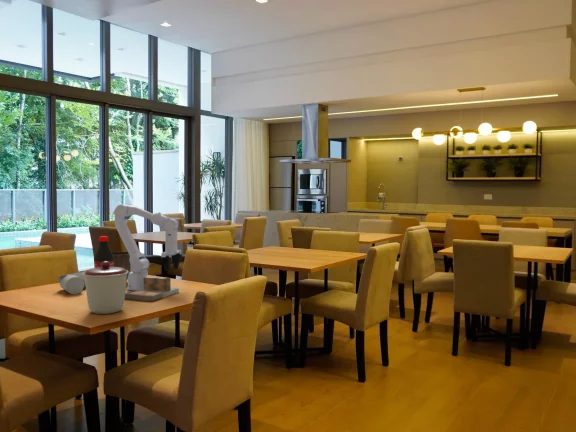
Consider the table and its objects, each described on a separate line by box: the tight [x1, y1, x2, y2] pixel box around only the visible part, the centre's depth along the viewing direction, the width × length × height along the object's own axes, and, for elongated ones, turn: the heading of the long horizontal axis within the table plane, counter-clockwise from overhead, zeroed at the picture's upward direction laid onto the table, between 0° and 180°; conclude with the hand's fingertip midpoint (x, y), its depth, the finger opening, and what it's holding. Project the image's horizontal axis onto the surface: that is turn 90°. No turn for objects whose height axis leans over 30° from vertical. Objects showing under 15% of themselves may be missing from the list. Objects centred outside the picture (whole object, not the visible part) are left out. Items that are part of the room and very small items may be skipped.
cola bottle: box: [93, 235, 114, 268], centre depth 234 cm, size 8×8×30 cm
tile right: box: [141, 292, 159, 296], centre depth 243 cm, size 6×6×2 cm
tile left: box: [129, 291, 147, 295], centre depth 246 cm, size 6×6×2 cm
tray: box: [124, 290, 164, 303], centre depth 244 cm, size 16×8×2 cm, turn 69°
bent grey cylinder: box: [57, 270, 87, 295], centre depth 264 cm, size 18×11×20 cm
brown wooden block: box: [144, 275, 172, 291], centre depth 254 cm, size 13×4×6 cm, turn 69°
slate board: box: [139, 287, 180, 298], centre depth 254 cm, size 15×14×2 cm
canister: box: [82, 261, 129, 315], centre depth 218 cm, size 18×18×21 cm
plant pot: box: [111, 251, 132, 283], centre depth 284 cm, size 15×15×16 cm
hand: (171, 269), depth 262 cm, fingers open, 7 cm apart
